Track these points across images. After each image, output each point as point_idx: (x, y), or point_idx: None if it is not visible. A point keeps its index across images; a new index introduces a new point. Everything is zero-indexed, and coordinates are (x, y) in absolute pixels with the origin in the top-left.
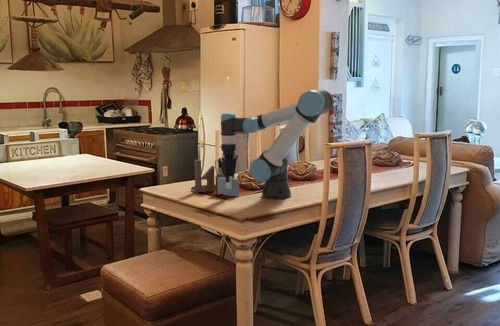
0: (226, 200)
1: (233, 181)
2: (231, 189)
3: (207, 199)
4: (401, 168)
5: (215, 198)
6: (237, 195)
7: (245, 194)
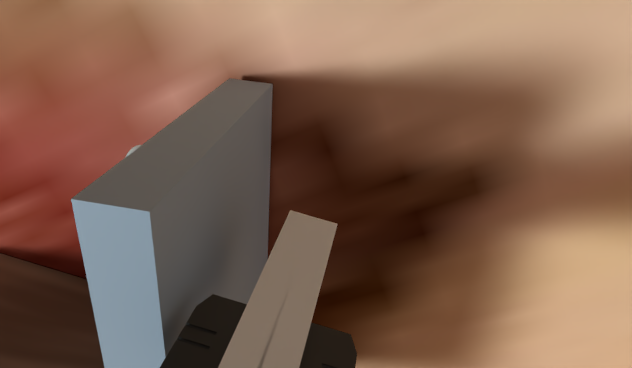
0: (545, 144)
1: (183, 269)
2: (243, 218)
3: (528, 361)
4: None
5: (452, 303)
6: (269, 87)
7: (83, 36)
